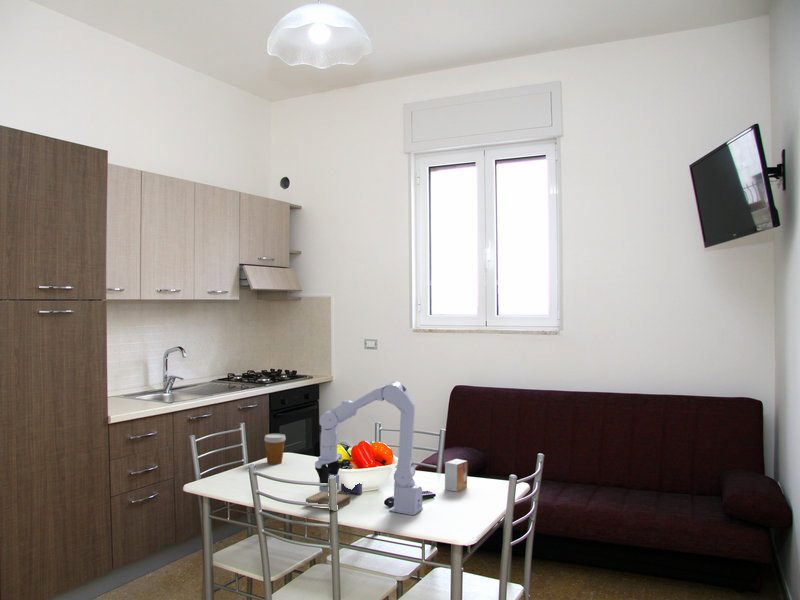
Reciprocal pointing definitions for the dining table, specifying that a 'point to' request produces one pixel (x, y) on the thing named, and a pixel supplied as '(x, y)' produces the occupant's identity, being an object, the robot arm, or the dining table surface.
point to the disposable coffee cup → (274, 448)
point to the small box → (456, 475)
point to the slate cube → (324, 489)
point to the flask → (356, 489)
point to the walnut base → (324, 499)
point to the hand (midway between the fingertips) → (328, 483)
